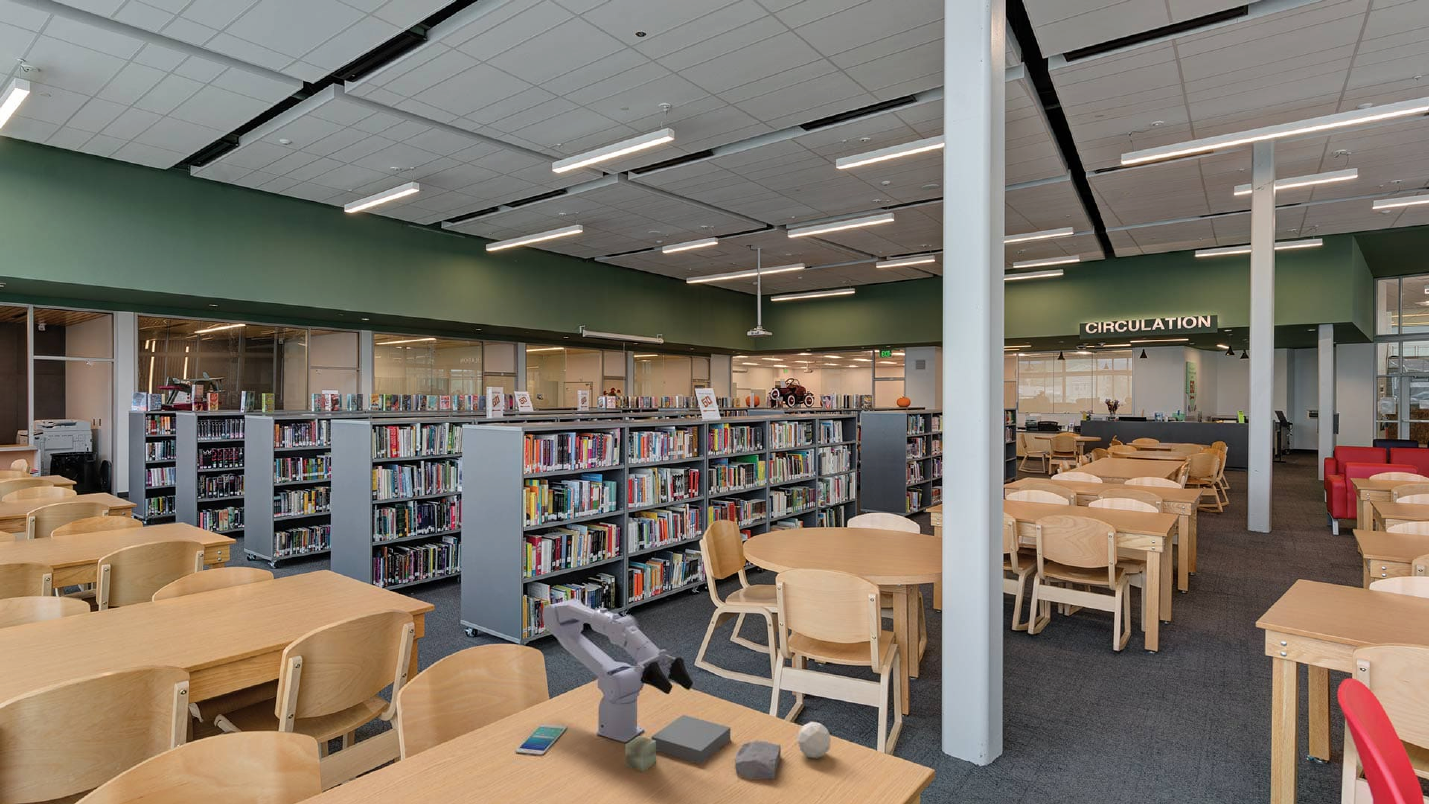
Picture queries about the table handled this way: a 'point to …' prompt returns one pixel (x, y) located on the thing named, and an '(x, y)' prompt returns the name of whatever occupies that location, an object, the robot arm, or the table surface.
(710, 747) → the stacking base
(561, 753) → the table surface
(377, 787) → the table surface
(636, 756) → the sage green cube
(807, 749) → the geometric ball
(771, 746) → the stone block
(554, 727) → the smartphone
